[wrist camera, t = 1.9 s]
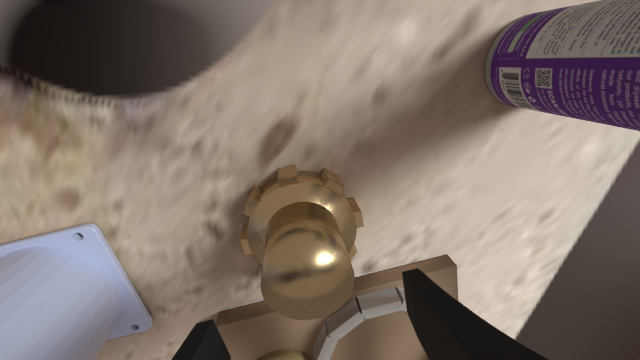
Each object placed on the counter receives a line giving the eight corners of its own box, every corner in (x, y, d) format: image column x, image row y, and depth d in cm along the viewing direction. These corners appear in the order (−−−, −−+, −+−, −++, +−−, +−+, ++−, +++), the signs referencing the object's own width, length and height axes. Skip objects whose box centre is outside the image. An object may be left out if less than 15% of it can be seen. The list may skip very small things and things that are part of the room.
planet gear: (262, 274, 20) (254, 358, 14) (228, 180, 17) (201, 237, 11) (363, 248, 20) (394, 322, 14) (344, 151, 17) (374, 195, 12)
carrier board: (264, 411, 24) (262, 451, 22) (218, 312, 20) (209, 347, 18) (453, 361, 25) (472, 395, 22) (447, 254, 21) (469, 281, 18)
